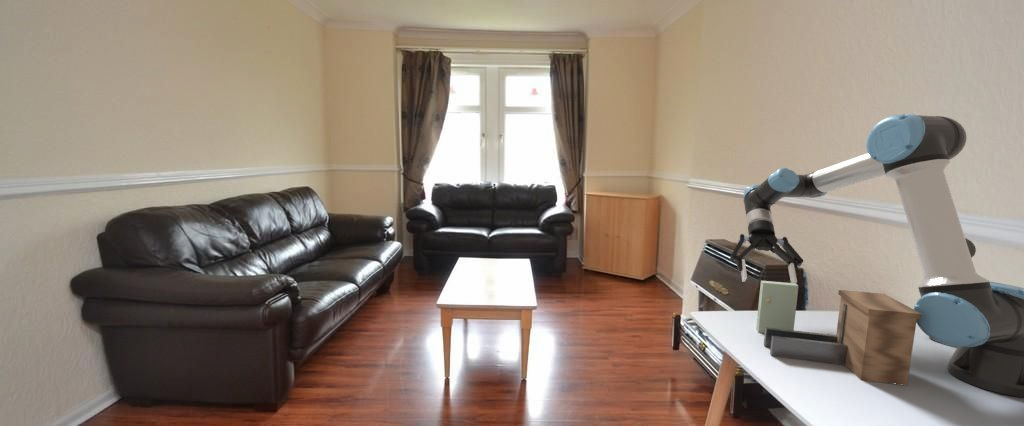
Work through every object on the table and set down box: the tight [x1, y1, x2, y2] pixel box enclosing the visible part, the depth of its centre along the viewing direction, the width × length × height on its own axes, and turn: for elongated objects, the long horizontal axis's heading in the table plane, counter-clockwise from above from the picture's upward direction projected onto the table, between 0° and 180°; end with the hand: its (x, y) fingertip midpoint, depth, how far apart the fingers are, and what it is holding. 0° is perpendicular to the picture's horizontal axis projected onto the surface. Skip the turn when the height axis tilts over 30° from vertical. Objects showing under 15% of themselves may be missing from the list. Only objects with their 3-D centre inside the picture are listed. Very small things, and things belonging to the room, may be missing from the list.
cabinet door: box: [755, 280, 799, 334], centre depth 127 cm, size 9×3×15 cm, turn 75°
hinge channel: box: [763, 327, 848, 366], centre depth 114 cm, size 16×7×5 cm, turn 75°
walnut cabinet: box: [835, 289, 922, 386], centre depth 106 cm, size 10×15×17 cm, turn 165°
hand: (769, 281), depth 134 cm, fingers open, 13 cm apart
